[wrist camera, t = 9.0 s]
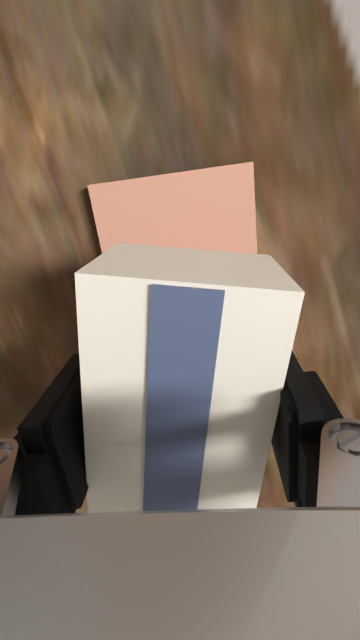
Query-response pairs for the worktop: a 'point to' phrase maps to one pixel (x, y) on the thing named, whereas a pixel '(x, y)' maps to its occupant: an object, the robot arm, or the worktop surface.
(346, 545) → the robot arm
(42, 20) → the worktop surface
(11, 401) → the worktop surface
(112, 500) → the card box
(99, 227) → the mat
